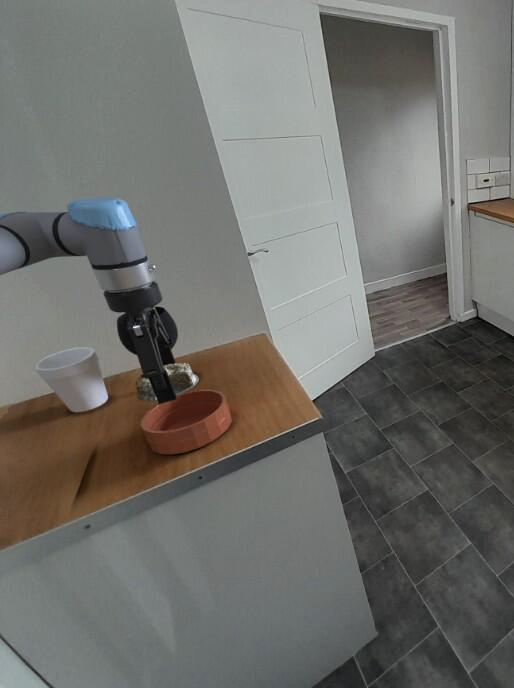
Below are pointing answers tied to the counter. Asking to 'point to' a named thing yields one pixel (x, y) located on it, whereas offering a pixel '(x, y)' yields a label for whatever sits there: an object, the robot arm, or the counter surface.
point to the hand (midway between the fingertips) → (169, 387)
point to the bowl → (186, 422)
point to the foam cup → (74, 378)
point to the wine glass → (165, 319)
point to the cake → (178, 377)
